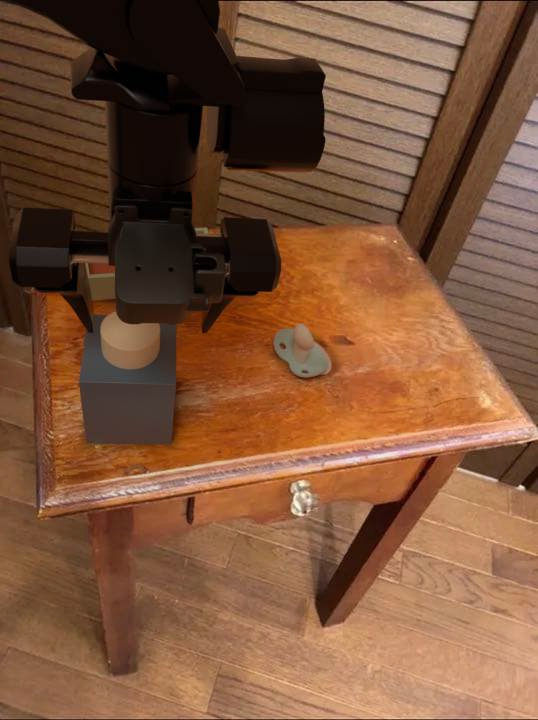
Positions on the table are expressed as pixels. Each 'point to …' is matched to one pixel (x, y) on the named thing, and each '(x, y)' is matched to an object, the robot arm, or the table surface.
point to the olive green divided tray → (108, 277)
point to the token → (129, 342)
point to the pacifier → (302, 352)
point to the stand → (128, 393)
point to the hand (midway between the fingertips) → (148, 329)
